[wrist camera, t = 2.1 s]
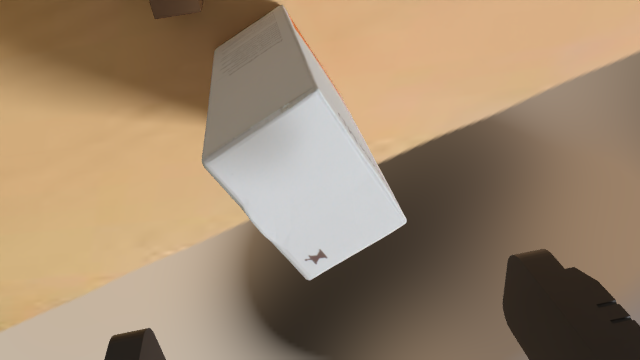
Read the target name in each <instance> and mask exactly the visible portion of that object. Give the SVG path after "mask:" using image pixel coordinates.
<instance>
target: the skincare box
mask: <svg viewBox="0 0 640 360" xmlns="http://www.w3.org/2000/svg"><path fill="white" fill-rule="evenodd" d="M202 164H203V166H204V167H205V169H206V170H207V171H208V172H209V173H210V174H211V175H212V176H213V177H214V178H215V180H216V181H217V182H218V183H219V184H220V185H221V186H222V187H223V188H224V189H225V191H226V192H227V193H228V194H229V195H230V196H231V197H232V198H233V199H234V200H235V202H236V203H237V204H238V205H239V206H240V207H241V208H242V210H243V211H244V212H245V213H246V215H247V216H248V217H249V219H250V220H251V222H252V223H253V224H254V225H255V227H256V228H257V229H258V230H259V231H260V232H261V233H262V234H263V235H264V236H265V237H266V238H267V239H269V240H270V241H271V242H272V243H273V244H274V245H275V246H276V247H277V248H278V249H279V251H280V252H281V253H282V254H283V255H284V256H285V257H286V258H287V259H288V260H289V261H290V262H291V263H292V264H293V265H294V266H295V268H296V269H297V270H298V271H299V272H300V273H301V274H302V275H303V276H304V277H305V278H306V279H307V280H311V279H313V278H315V277H316V276H318V275H320V274H321V273H323V272H325V271H326V270H328V269H330V268H331V267H333V266H335V265H336V264H338V263H340V262H342V261H343V260H345V259H347V258H348V257H350V256H352V255H354V254H356V253H357V252H359V251H361V250H362V249H364V248H366V247H368V246H369V245H371V244H373V243H375V242H376V241H378V240H380V239H382V238H383V237H385V236H386V235H388V234H390V233H392V232H393V231H395V230H396V229H398V228H399V227H401V226H402V225H404V224H405V223H406V218H405V216H404V214H403V213H402V211H401V208H400V206H399V204H398V202H397V201H396V199H395V197H394V195H393V193H392V191H391V189H390V187H389V185H388V184H387V182H386V180H385V178H384V176H383V174H382V172H381V170H380V169H379V167H378V165H377V163H376V161H375V159H374V157H373V155H372V153H371V152H370V150H369V148H368V146H367V144H366V142H365V140H364V138H363V136H362V134H361V133H360V131H359V129H358V127H357V125H356V123H355V122H354V120H353V118H352V116H351V114H350V112H349V110H348V108H347V106H346V104H345V102H344V100H343V99H342V97H341V95H340V93H339V92H338V91H337V89H336V88H335V86H334V85H333V83H332V81H331V80H330V78H329V77H328V75H327V73H326V72H325V70H324V69H323V67H322V66H321V64H320V63H319V61H318V60H317V58H316V57H315V55H314V53H313V52H312V50H311V49H310V47H309V46H308V44H307V43H306V41H305V40H304V38H303V36H302V35H301V33H300V32H299V30H298V29H297V27H296V26H295V24H294V22H293V21H292V19H291V18H290V16H289V14H288V13H287V11H286V9H285V8H284V6H283V5H280V6H278V7H276V8H275V9H273V10H272V11H271V12H269V13H268V14H267V15H265V16H264V17H262V18H261V19H259V20H258V21H256V22H255V23H253V24H252V25H250V26H249V27H247V28H246V29H244V30H243V31H241V32H240V33H238V34H237V35H235V36H234V37H232V38H231V39H229V40H228V41H227V42H225V43H224V44H222V45H221V46H219V47H218V48H216V49H215V51H214V59H213V68H212V77H211V86H210V95H209V105H208V113H207V122H206V131H205V139H204V147H203V153H202Z"/></svg>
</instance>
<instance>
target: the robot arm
mask: <svg viewBox="0 0 640 360" xmlns="http://www.w3.org/2000/svg"><path fill="white" fill-rule="evenodd" d="M503 311H504V315H505V319H506V321H507V324H508V326H509V328H510V330H511V331H512V333H513V335H514V336H515V338H516V339H517V341H518V342H519V344H520V346H521V347H522V349H523V350H524V352H525V354H526V355H527V357H528V358H529V360H640V326H639V325H638V324H637V323H636V321H635V320H631V318H630V315H629V314H628V313H627V312H626V311H625V310H624V309H623V308H622V306H621V305H619V304H617V303H616V300H615V299H614V298H613V297H612V296H611V295H610V294H609V293H608V291H607V290H606V289H605V288H604V287H603V286H602V285H601V284H600V283H599V282H598V281H597V280H595V279H593V278H591V277H590V276H588V275H586V274H585V273H583V272H582V271H580V270H578V269H577V268H575V267H572V268H568V269H564V268H563V266H562V265H561V264H560V263H559V262H558V261H557V260H556V259H555V258H554V256H553V255H552V254H551V253H550V252H549V251H548V250H546V249H540V250H536V251H531V252H526V253H521V254H516V255H512V256H510V257H509V259H508V263H507V272H506V280H505V288H504V296H503ZM105 360H166V359H165V357H164V355H163V352H162V350H161V348H160V346H159V343H158V341H157V339H156V337H155V335H154V333H153V331H152V330H151V329H150V328H148V329H142V330H137V331H132V332H127V333H123V334H118V335H114V336H112V338H111V339H110V341H109V345H108V348H107V352H106V356H105Z"/></svg>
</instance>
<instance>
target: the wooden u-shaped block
mask: <svg viewBox="0 0 640 360" xmlns="http://www.w3.org/2000/svg"><path fill="white" fill-rule="evenodd" d="M149 1H150V4H151V8H152V11H153V14H154V18H155V19H159V18H165V17H171V16H177V15H184V14H190V13H196V12H201V9H202V5H203V0H149Z"/></svg>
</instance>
